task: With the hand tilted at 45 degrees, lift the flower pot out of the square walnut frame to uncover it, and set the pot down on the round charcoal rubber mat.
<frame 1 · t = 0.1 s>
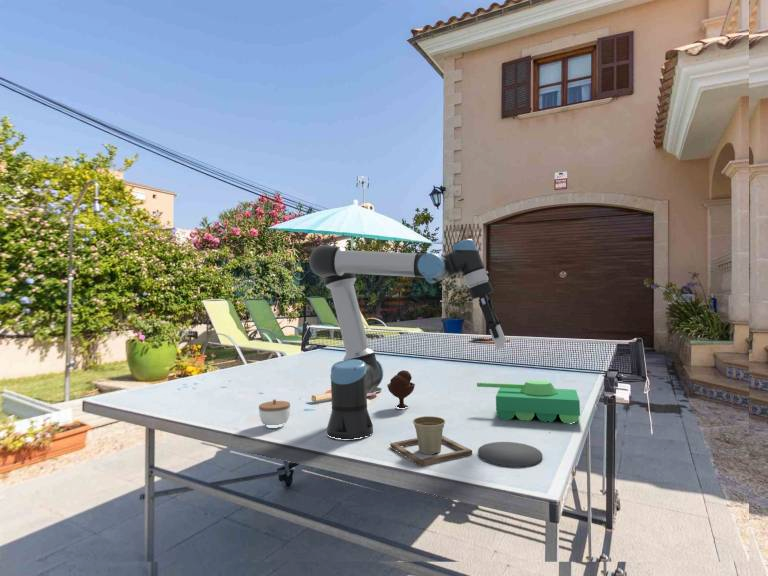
hand: (501, 345, 140), 28 cm above the table, tool tilted 20°, fingers open, 13 cm apart
walnut frame: (429, 450, 124), on the table
rubber mat: (509, 455, 119), on the table
flower pot: (430, 451, 124), resting in walnut frame
ice cream bowl: (401, 408, 173), on the table
toy tank: (526, 416, 158), on the table
lidded jar: (275, 426, 153), on the table
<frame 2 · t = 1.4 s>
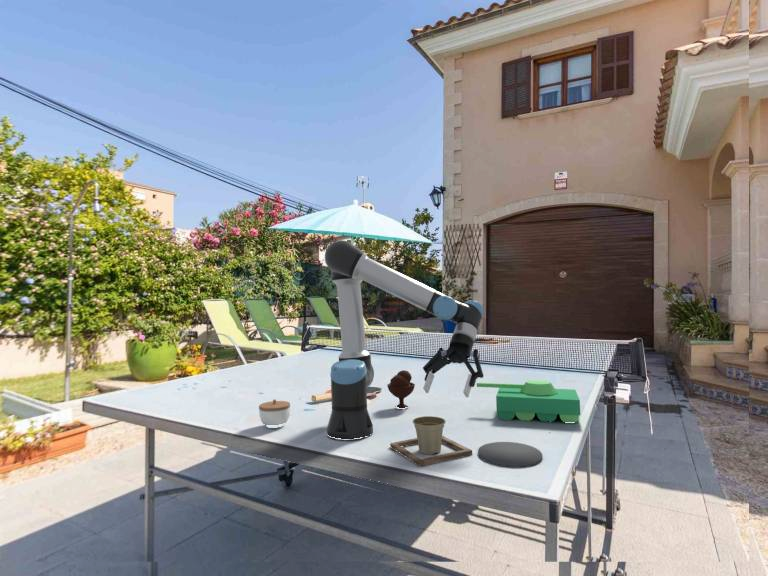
hand: (445, 392, 133), 15 cm above the table, tool tilted 45°, fingers open, 13 cm apart
nothing on the table moved.
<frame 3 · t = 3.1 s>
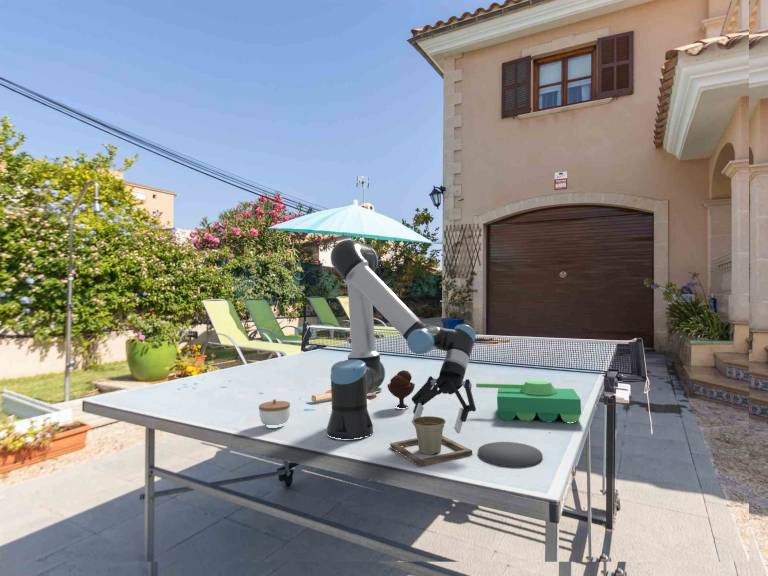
hand: (434, 427, 124), 6 cm above the table, tool tilted 45°, fingers open, 13 cm apart
nothing on the table moved.
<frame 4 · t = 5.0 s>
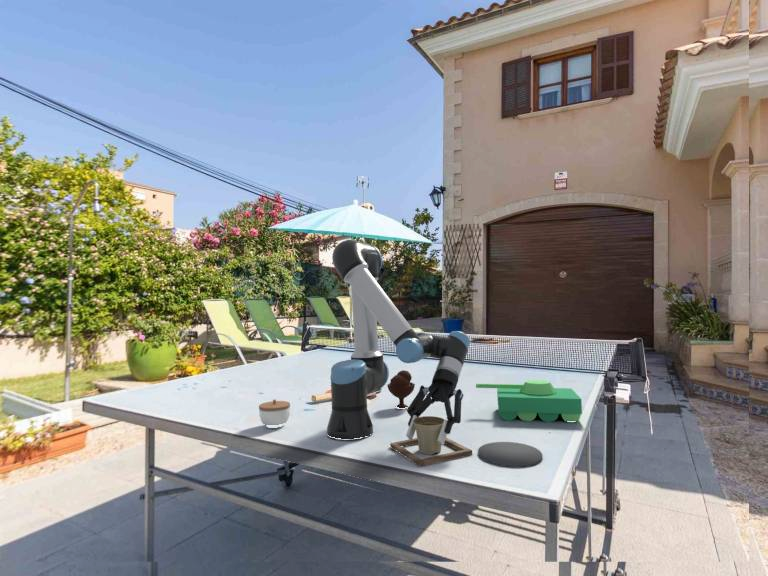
hand: (424, 440, 121), 4 cm above the table, tool tilted 45°, fingers closed on flower pot, 9 cm apart
flower pot: (429, 451, 124), resting in walnut frame, touching gripper
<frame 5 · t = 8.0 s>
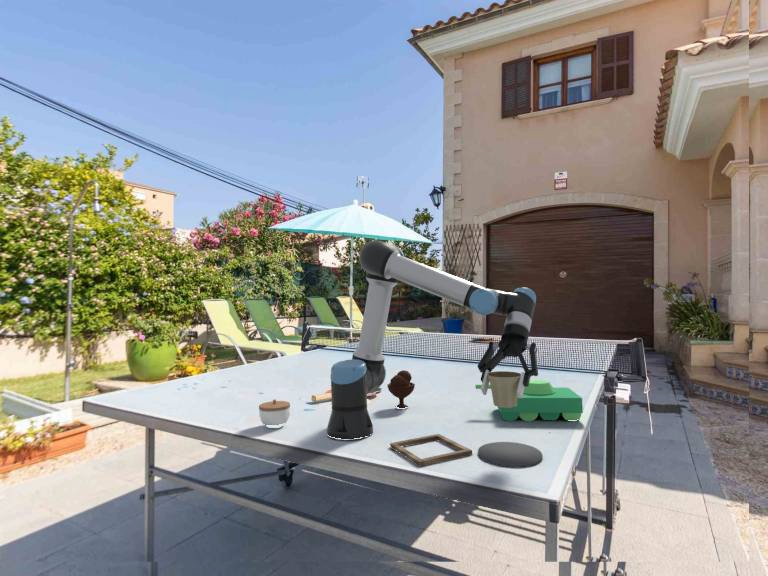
hand: (501, 393, 116), 17 cm above the table, tool tilted 45°, fingers closed on flower pot, 9 cm apart
flower pot: (505, 406, 119), point 13 cm above the table, touching gripper
when the fingers open (6 cm above the table, at t = 11.0 s): flower pot drops 2 cm, resting on rubber mat.
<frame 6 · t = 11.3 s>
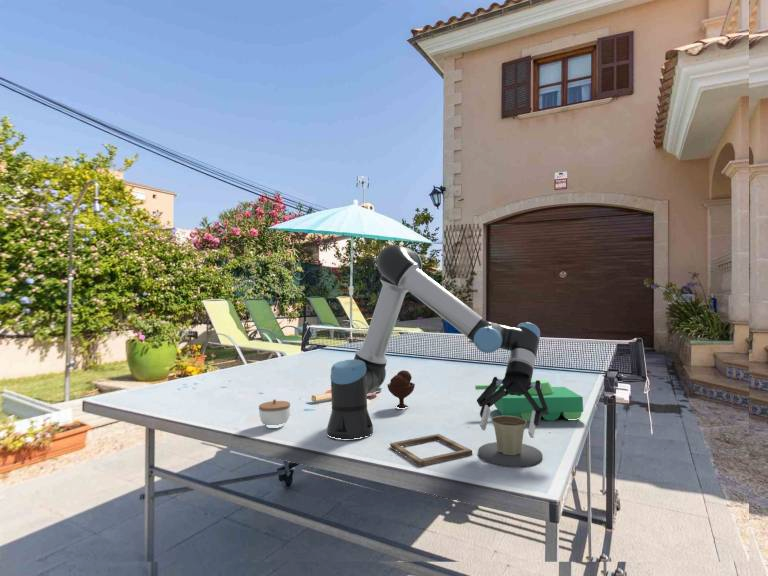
hand: (505, 431, 117), 7 cm above the table, tool tilted 45°, fingers open, 13 cm apart
flower pot: (509, 452, 119), point 1 cm above the table, touching rubber mat
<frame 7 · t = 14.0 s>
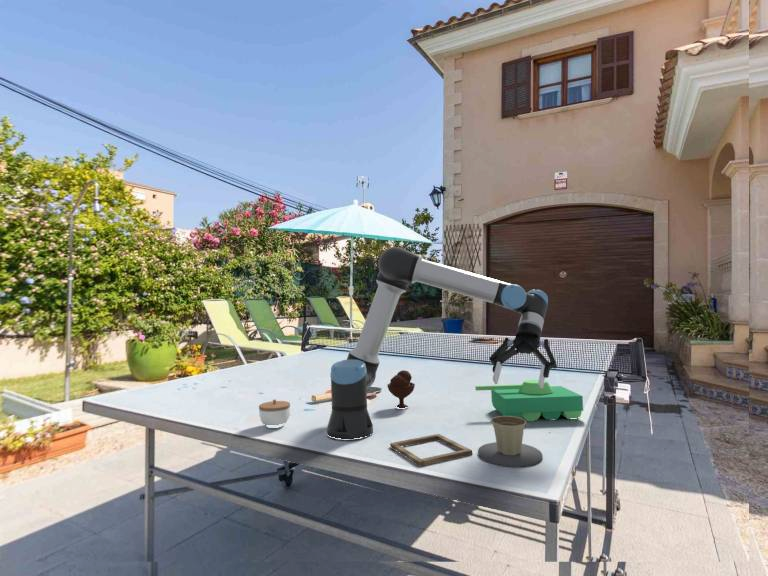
hand: (516, 383, 128), 18 cm above the table, tool tilted 45°, fingers open, 13 cm apart
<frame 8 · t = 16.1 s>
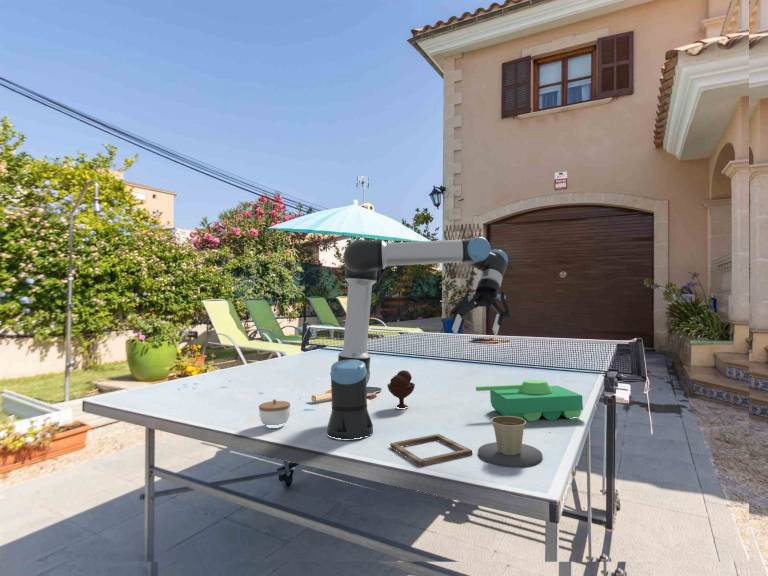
hand: (473, 332, 137), 33 cm above the table, tool tilted 45°, fingers open, 13 cm apart
at the end: flower pot 0.1 cm from the rubber mat (horizontally); flower pot tilted 0°; flower pot point 0.6 cm above the table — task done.
